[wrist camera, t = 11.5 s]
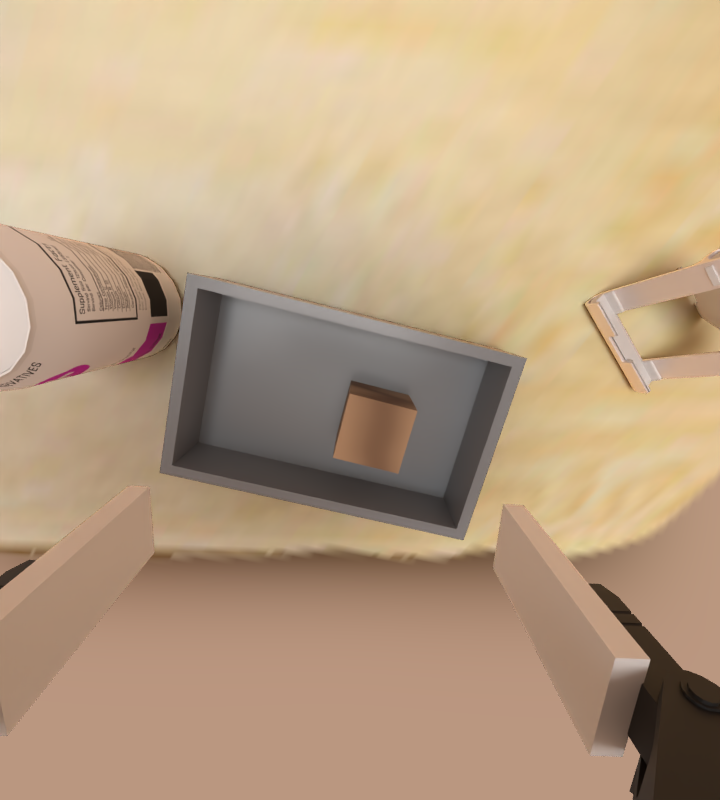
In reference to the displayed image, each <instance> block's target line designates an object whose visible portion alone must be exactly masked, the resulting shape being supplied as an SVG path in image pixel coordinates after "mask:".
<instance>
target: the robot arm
mask: <svg viewBox="0 0 720 800" xmlns="http://www.w3.org/2000/svg"><path fill="white" fill-rule="evenodd" d="M153 554H154V539H153V526H152V512H151V499H150V487H146V486H127V487H126V488H125V489H124V490H122V491H121V492H120V493H119V494H118V495H116V496H115V497H114V498H113V499H111V500H110V501H109V502H108V503H106V504H105V505H104V506H103V507H101V508H100V509H99V510H98V511H97V512H95V513H94V514H93V515H92V516H90V517H89V518H88V519H87V520H85V521H84V522H83V523H82V524H80V525H79V526H78V527H77V528H76V529H74V530H73V531H72V532H71V533H69V534H68V535H67V536H66V537H64V538H63V539H62V540H61V541H59V542H58V543H57V544H56V545H55V546H53V547H52V548H51V549H50V550H48V551H47V552H46V553H45V554H43V555H42V556H41V557H40V558H38V559H37V560H28V561H26V562H24V563H22V564H20V565H18V566H16V567H14V568H12V569H10V570H8V571H6V572H5V573H4V574H3V575H1V576H0V736H8V734H9V733H10V732H11V731H12V729H13V728H14V727H15V726H16V724H17V723H18V722H19V721H20V719H21V718H22V717H23V716H24V714H25V713H26V712H27V711H28V709H29V708H30V707H31V705H32V704H33V703H34V702H35V701H36V700H37V698H38V697H39V696H40V695H41V693H42V692H43V691H44V690H45V688H46V687H47V686H48V684H49V683H50V682H51V681H52V680H53V678H54V677H55V676H56V674H57V673H58V672H59V671H60V670H61V668H62V667H63V666H64V665H65V663H66V662H67V661H68V660H69V658H70V657H71V656H72V655H73V653H74V652H75V651H76V650H77V648H78V647H79V646H80V645H81V643H82V642H83V641H84V640H85V638H86V637H87V636H88V635H89V633H90V632H91V631H92V630H93V629H94V627H95V626H96V625H97V623H98V622H99V621H100V620H101V619H102V617H103V616H104V615H105V613H106V612H107V611H108V609H110V607H111V606H112V605H113V604H114V602H115V601H116V600H117V599H118V597H119V596H120V595H121V594H122V592H123V591H124V590H125V589H126V587H127V586H128V585H129V584H130V582H131V581H132V580H133V579H134V577H135V576H136V575H137V574H138V572H139V571H140V570H141V569H142V567H143V566H144V565H145V564H146V562H147V561H148V560H149V559H150V557H151V556H152V555H153ZM493 569H494V570H495V573H496V575H497V576H498V578H499V580H500V582H501V584H502V586H503V588H504V590H505V592H506V594H507V596H508V598H509V600H510V602H511V603H512V605H513V607H514V609H515V611H516V613H517V615H518V617H519V619H520V621H521V623H522V625H523V627H524V629H525V631H526V633H527V635H528V636H529V638H530V640H531V642H532V644H533V646H534V648H535V650H536V652H537V654H538V656H539V658H540V660H541V662H542V664H543V666H544V668H545V670H546V672H547V673H548V675H549V677H550V679H551V681H552V683H553V685H554V687H555V689H556V691H557V693H558V695H559V697H560V699H561V701H562V703H563V704H564V706H565V708H566V710H567V712H568V714H569V716H570V718H571V720H572V722H573V724H574V726H575V728H576V730H577V732H578V734H579V736H580V737H581V739H582V741H583V743H584V745H585V747H586V749H587V751H588V753H589V755H590V756H616V757H617V756H618V757H622V756H623V754H624V750H625V747H626V743H627V740H628V736H629V737H630V739H631V741H632V742H633V744H634V745H635V747H636V749H637V750H638V752H639V753H640V758H639V762H638V765H637V769H636V772H635V775H634V778H633V782H632V785H631V788H630V792H631V793H633V800H720V687H718V686H717V685H716V684H714V683H713V682H711V681H709V680H707V679H706V678H704V677H702V676H700V675H697V674H695V673H692V672H689V671H686V670H683V669H682V668H681V667H680V666H679V665H678V664H677V663H676V661H675V660H674V659H673V658H672V657H671V656H670V655H669V654H668V652H667V651H666V650H665V649H664V648H663V647H662V646H661V645H660V643H659V642H658V641H657V640H656V639H655V638H654V637H653V636H652V634H651V633H650V632H649V631H648V630H647V629H646V628H645V627H644V626H642V623H641V622H640V621H639V620H638V619H637V618H636V617H635V616H634V614H631V611H630V610H629V609H628V608H627V606H626V605H625V604H624V603H623V602H622V601H621V600H620V598H619V597H617V596H616V595H615V594H613V593H612V592H611V591H609V590H608V589H606V588H605V587H604V586H602V585H601V584H588V583H587V582H586V580H585V579H584V578H583V577H582V576H581V574H580V573H579V572H578V571H577V569H576V568H575V567H574V566H573V565H572V563H571V562H570V561H569V560H568V558H567V557H566V556H565V555H564V554H563V552H562V551H561V550H560V549H559V548H558V546H557V545H556V544H555V543H554V542H553V540H552V539H551V538H550V537H549V535H548V534H547V533H546V532H545V531H544V529H543V528H542V527H541V526H540V525H539V523H538V522H537V521H536V520H535V518H534V517H533V516H532V515H531V514H530V512H529V511H528V510H527V509H526V508H525V506H524V505H513V504H503V509H502V515H501V521H500V528H499V534H498V540H497V546H496V552H495V559H494V565H493Z"/></svg>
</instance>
